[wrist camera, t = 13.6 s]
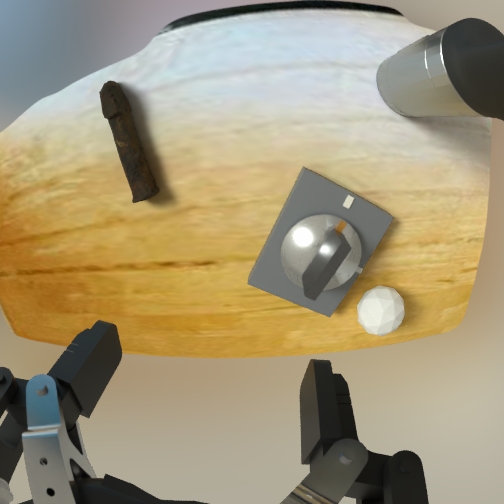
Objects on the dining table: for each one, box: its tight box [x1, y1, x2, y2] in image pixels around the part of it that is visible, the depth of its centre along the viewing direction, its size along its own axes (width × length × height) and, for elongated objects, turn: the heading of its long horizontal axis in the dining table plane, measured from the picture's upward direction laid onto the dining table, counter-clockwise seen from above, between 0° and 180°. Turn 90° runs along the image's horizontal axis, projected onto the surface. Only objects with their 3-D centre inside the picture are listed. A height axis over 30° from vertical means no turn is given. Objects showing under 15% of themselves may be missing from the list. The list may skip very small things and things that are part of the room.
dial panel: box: [247, 167, 394, 317], centre depth 39 cm, size 18×14×3 cm
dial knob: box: [281, 213, 361, 301], centre depth 35 cm, size 11×11×6 cm
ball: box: [357, 285, 405, 336], centre depth 40 cm, size 8×8×8 cm
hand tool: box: [99, 81, 159, 203], centre depth 34 cm, size 19×4×5 cm, turn 14°
